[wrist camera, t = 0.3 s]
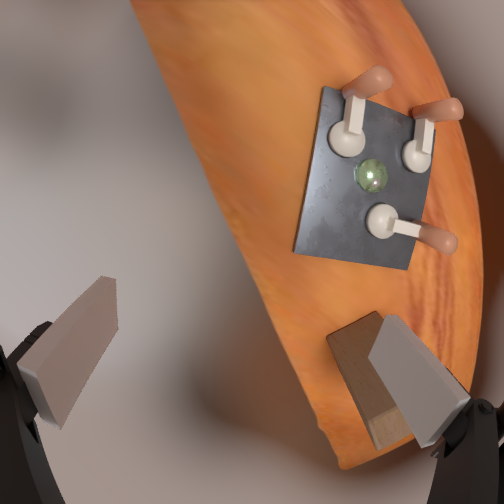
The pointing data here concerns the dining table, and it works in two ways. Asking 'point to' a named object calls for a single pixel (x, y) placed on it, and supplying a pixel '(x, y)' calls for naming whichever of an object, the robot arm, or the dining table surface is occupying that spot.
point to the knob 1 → (357, 110)
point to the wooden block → (368, 381)
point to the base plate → (360, 188)
